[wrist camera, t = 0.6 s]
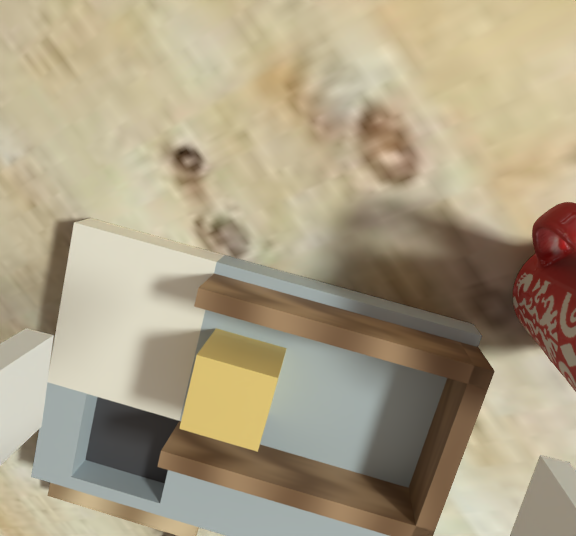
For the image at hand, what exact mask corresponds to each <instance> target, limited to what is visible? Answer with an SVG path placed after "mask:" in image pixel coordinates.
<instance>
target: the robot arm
mask: <svg viewBox="0 0 576 536" xmlns="http://www.w3.org/2000/svg"><path fill="white" fill-rule="evenodd" d="M53 337H54V335H51V334H47V333H43V332H39V331H35V330H31V329H27V328H26V329H24V330H22V331H21V332H19V333H17V334H15V335H14V336H12V337H10V338H9V339H7V340H5V341H3V342H2V343H0V465H2V464H3V463H4V462H5V461H6V460H7V459H8V458H9V457H10V456H11V455H12V454H13V453H14V452H15V451H16V450H17V449H18V448H19V447H21V446H22V445H23V444H24V443H25V442H26V441H27V440H28V439H29V438H30V437H31V436H32V435H33V434H34V433H35V432H36V431H37V430H38V429H40V428H41V427H42V420H43V412H44V405H45V397H46V390H47V382H48V375H49V367H50V359H51V352H52V344H53ZM510 536H576V470H575V469H574V468H573V466H572V465H571V464H570V462H567V461H562V460H558V459H554V458H550V457H546V456H542V455H540V457H539V459H538V462H537V465H536V467H535V470H534V473H533V475H532V478H531V481H530V483H529V486H528V489H527V492H526V494H525V497H524V500H523V502H522V505H521V508H520V510H519V513H518V516H517V518H516V521H515V524H514V526H513V529H512V532H511V534H510Z"/></svg>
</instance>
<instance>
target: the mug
mask: <svg viewBox="0 0 576 536" xmlns="http://www.w3.org/2000/svg"><path fill="white" fill-rule="evenodd" d="M532 238H533V245H534V249H535V254H534V255H533V256H532V257H531V258H529V259H528V261H527V262H526V263H525V264H524V265H523V267H522V268H521V270H520V271H519V273H518V275H517V278H516V280H515V283H514V288H513V305H514V309H515V312H516V315H517V317H518V319H519V321H520V322H521V324H522V325H523V327H524V328H525V329H526V331H527V332H528V333H529V334H530V335H531V336H532V338H533V339H534V340H535V341H536V343H537V344H538V345H539V346H540V348H541V349H542V350H543V351H544V353H545V354H546V355H547V356H548V358H549V359H550V361H551V362H552V363H553V364H554V365H555V366H556V368H557V369H558V370H559V371H560V372H561V374H562V375H563V376H564V377H565V378H566V380H567V381H568V382H569V384H570V385H571V386H572V387H573V389H574V390H575V391H576V203H572V202H565V203H561V204H558V205H556V206H554V207H553V208H551V209H550V210H548V211H547V212H546V213H544V214H543V215H542V216H541V217H539V218H538V219H537V220H536V222H535V223H534V225H533V230H532Z"/></svg>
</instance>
